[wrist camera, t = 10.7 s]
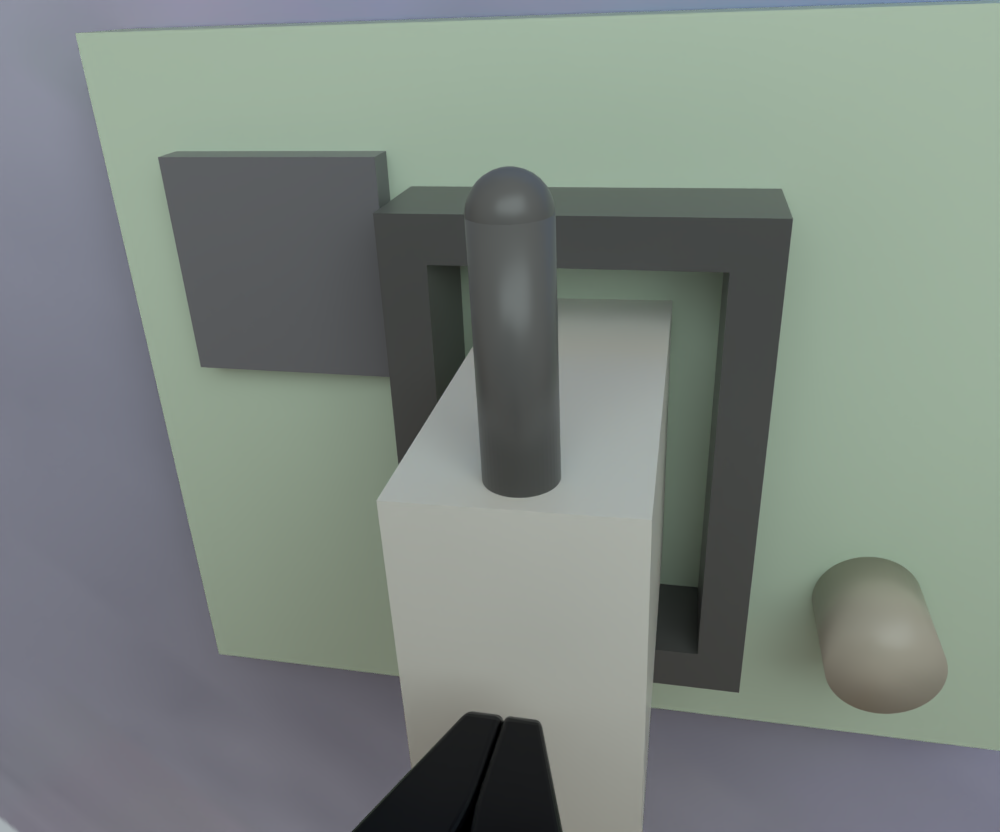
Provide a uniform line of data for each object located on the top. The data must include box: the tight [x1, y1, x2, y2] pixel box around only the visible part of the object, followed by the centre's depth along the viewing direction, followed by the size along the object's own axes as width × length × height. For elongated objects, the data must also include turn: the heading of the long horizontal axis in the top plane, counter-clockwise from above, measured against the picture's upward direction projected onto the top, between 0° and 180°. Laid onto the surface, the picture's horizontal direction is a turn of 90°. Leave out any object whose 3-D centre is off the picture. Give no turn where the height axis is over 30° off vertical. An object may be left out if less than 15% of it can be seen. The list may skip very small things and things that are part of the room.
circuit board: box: [75, 0, 1000, 751], centre depth 16 cm, size 18×14×4 cm
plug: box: [376, 166, 672, 832], centre depth 13 cm, size 9×3×7 cm, turn 3°
